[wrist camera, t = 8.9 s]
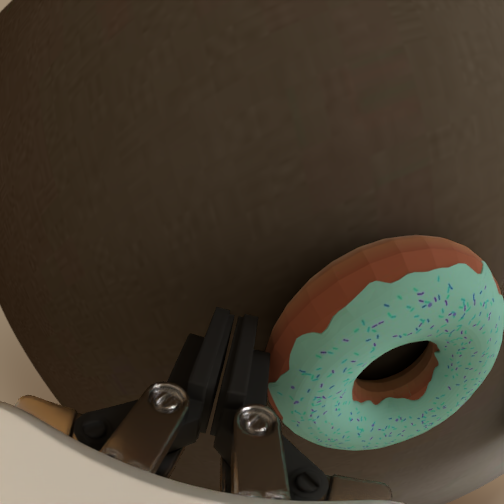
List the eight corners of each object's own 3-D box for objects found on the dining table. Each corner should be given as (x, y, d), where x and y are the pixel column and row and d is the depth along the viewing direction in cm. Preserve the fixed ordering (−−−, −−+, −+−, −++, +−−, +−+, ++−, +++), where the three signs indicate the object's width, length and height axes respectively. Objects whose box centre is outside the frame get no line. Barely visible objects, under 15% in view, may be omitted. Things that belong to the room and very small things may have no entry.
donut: (290, 421, 16) (289, 472, 12) (234, 255, 12) (211, 308, 8) (459, 376, 13) (481, 419, 10) (483, 199, 9) (539, 225, 6)
